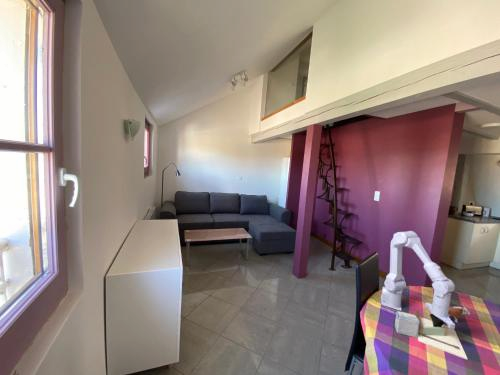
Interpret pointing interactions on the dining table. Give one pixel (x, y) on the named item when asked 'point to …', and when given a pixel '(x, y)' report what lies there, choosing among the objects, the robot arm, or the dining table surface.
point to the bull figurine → (457, 312)
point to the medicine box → (406, 324)
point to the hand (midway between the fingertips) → (436, 330)
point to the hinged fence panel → (432, 330)
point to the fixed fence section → (418, 316)
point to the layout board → (442, 340)
